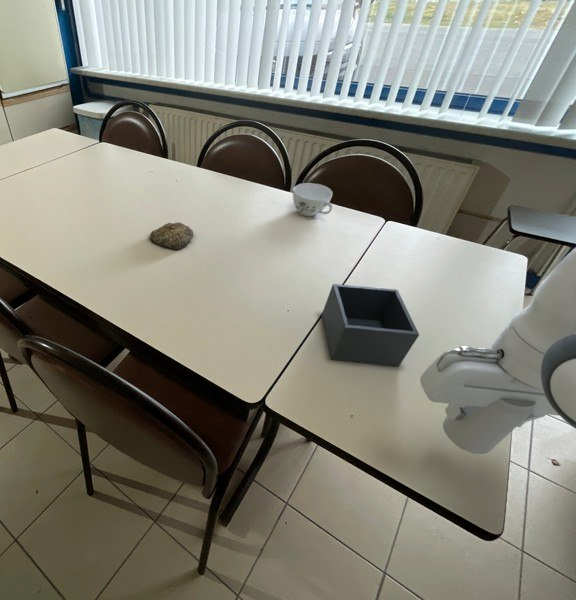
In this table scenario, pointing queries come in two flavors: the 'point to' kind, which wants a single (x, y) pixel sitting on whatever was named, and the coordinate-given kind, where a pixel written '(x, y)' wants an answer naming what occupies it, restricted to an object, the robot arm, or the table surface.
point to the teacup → (312, 198)
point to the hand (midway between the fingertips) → (481, 418)
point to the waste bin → (367, 325)
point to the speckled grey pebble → (172, 235)
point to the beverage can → (486, 424)
